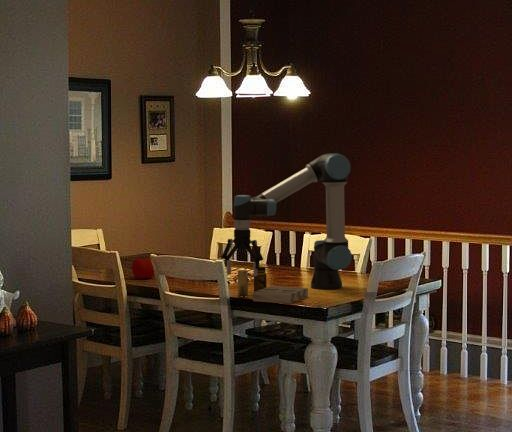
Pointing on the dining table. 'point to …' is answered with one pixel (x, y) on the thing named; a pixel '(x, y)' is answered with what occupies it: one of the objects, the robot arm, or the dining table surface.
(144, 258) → the tomato
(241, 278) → the bushing
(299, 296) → the jig
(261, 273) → the condiment
